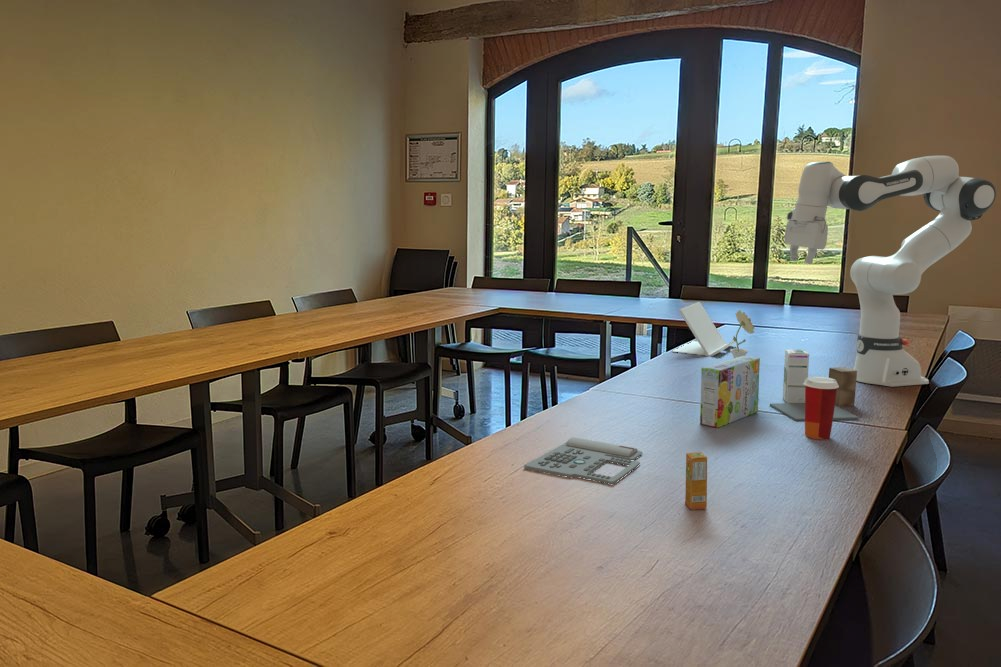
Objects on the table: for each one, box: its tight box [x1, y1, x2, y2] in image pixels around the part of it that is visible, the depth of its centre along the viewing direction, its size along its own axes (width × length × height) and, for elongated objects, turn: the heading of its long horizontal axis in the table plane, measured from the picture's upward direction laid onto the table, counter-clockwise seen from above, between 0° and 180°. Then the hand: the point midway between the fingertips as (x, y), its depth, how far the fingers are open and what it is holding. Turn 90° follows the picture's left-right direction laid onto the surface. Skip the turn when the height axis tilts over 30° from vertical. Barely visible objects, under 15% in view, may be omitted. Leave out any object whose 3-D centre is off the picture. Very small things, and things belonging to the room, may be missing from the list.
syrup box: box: [782, 348, 810, 403], centre depth 212 cm, size 6×6×14 cm
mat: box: [769, 402, 859, 422], centre depth 202 cm, size 17×15×1 cm
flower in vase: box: [729, 309, 755, 359], centre depth 217 cm, size 13×11×25 cm
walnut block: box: [828, 366, 857, 408], centre depth 210 cm, size 5×5×10 cm
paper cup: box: [803, 376, 839, 440], centre depth 180 cm, size 8×8×14 cm
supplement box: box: [684, 451, 708, 510], centre depth 138 cm, size 3×3×10 cm
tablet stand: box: [671, 301, 736, 357], centre depth 289 cm, size 18×25×17 cm
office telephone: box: [523, 436, 643, 484], centre depth 163 cm, size 23×3×20 cm
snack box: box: [699, 355, 761, 429], centre depth 195 cm, size 21×6×15 cm, turn 134°
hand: (800, 262), depth 228 cm, fingers open, 8 cm apart
